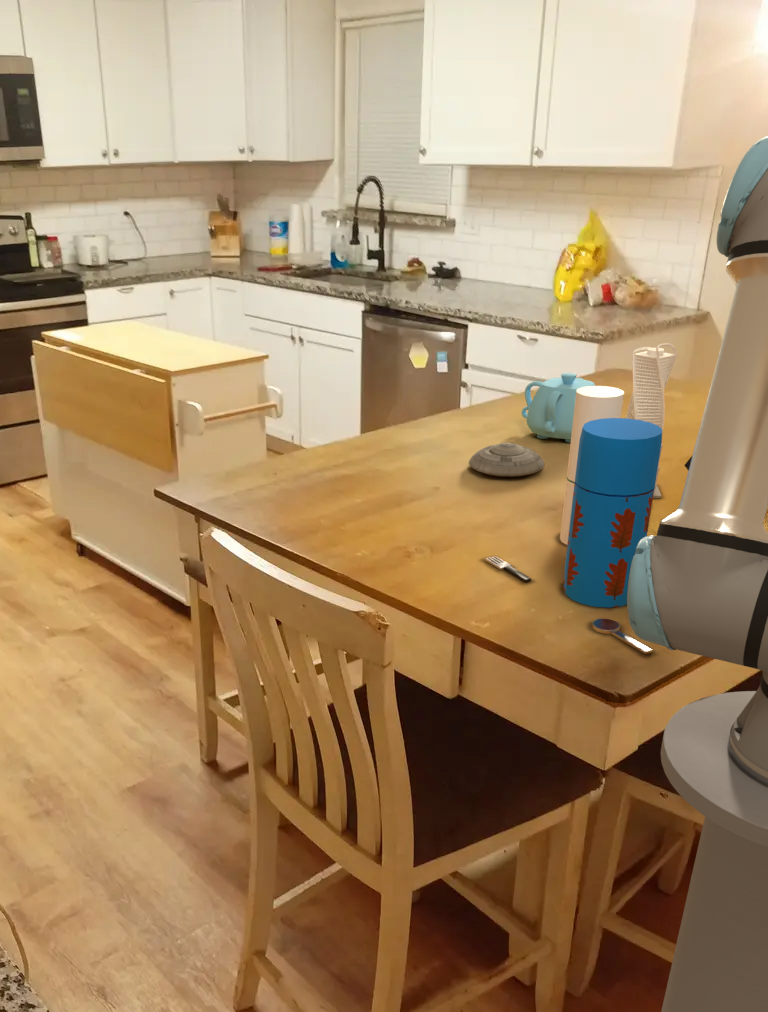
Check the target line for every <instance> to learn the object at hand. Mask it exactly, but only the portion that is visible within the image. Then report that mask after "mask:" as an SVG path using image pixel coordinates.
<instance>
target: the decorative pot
mask: <svg viewBox="0 0 768 1012" xmlns="http://www.w3.org/2000/svg"><path fill="white" fill-rule="evenodd" d="M587 386H596V384H595V382H593V381H591V380H587V379H584V378H581V377H577V373H575V372H563V373H561V374H560V377H552V378H549V379H547V380H545V381H541V380H535V381H531V382H530V383H528V384H527V385H526V387H525V389H524V398H525V403H526V406H524V407H523V408H522V410H521V416H522V417H523V418H524V419H526V425H527V426H528V428H529V430H530V432H531V433H533V434H535V435H537V437H536V438H537V439H538V438H539V439H542V440H543V439H544V440H545V439H546V440H547V439H549V438H553V439H562V440H564V441H565V442H566V443H570V444H571V435H572V426H573V417H574V409H575V400H576V391H577V389H579V388H581V387H587ZM533 387H538V389H537V390H536V392H535V394H534V395H533V398H532V395H531V389H532V388H533Z"/></svg>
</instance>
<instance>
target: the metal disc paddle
mask: <svg viewBox="0 0 768 1012" xmlns="http://www.w3.org/2000/svg"><path fill="white" fill-rule="evenodd" d="M620 628H621V624H620V623H619V622H618V621H616V620H614V619H611V618H597V619H595V620H594V621H593V622H592V629H593V630H594V631H596V632H597V633H600V634H604V635H612V636H614V637H615V638H617V639H618V640H620V641H622V642H623V643H625V644H627V645H628V646H630V647H632V648H634V649H635V650H637V651H639V652H640V653H642V654H643V655H647V654H651V653H652V652H653V649H651V648H650V647H648V646H646V645H645V644H643V643H642V642H640V641H638V640H637V639H634V638H633V637H632V636H629V635H628V634H626V633H624V632H623V631H621V630H620Z"/></svg>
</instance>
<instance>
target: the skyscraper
mask: <svg viewBox="0 0 768 1012" xmlns="http://www.w3.org/2000/svg"><path fill="white" fill-rule="evenodd" d="M662 347H670V348H671V349H672V351H673V353H669V352H665V349H664V348H662ZM644 350H646V351H644ZM639 351H642V352H639ZM677 356H678V354H677V350H676V348H675V346H674V345H673V344H672V343H669V342H663V343H659V344H657V346H655V347H652V346H641V347H637V348H636V349H634V350H633V351H632V393H631V396H630V400H629V403H628V407H627V410H626V411H627V412H626V415H625V418H627V419H635V420H641V421H646V422H650V423H653V424H655V425H657V426H659V427H660V428H661V429H662V435H663V433H664V426H665V416H666V415H665V414H666V413H665V411H666V403H665V401H666V400H665V389H666V388H667V384H668V381H669V380H670V379H669V378H670V376H671V373H672V370H673V367H674V364H675V362H676V360H677V359H676V358H677ZM662 451H663V443H662V444H661V451H660V457H659V463H658V470H657V476H656V482H655V488H654V495H653V499H662V494H661V491H660V489H659V486H658V479H659V473H660V468H661V467H660V462H661V461H660V460H661V457H662Z"/></svg>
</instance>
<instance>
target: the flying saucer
mask: <svg viewBox="0 0 768 1012" xmlns="http://www.w3.org/2000/svg"><path fill="white" fill-rule="evenodd" d="M468 465H469V466H470V468H472V469H473V470H475V471H477V472H479V473H482V474H485V475H488V476H495V477H503V478H504V477H508V478H514V477H515V478H517V477H523V476H529V475H533V474H535V473H537V472H539V471H541V470H542V469H543V468H544V467H545V461H544V459H543V458H542V457H541V456H540V455H539V453H537V452H536V451H535V450H533V449H531V448H530V447H527V446H524V445H521V444H518V443H513V442H501V443H496V444H491V445H488V446H486V447H485V446H484V447H483V448H480V449H479V450H477V451H476V452H475V453H474V454H473V455H472V456H471V457H470V458H469V460H468Z"/></svg>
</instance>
